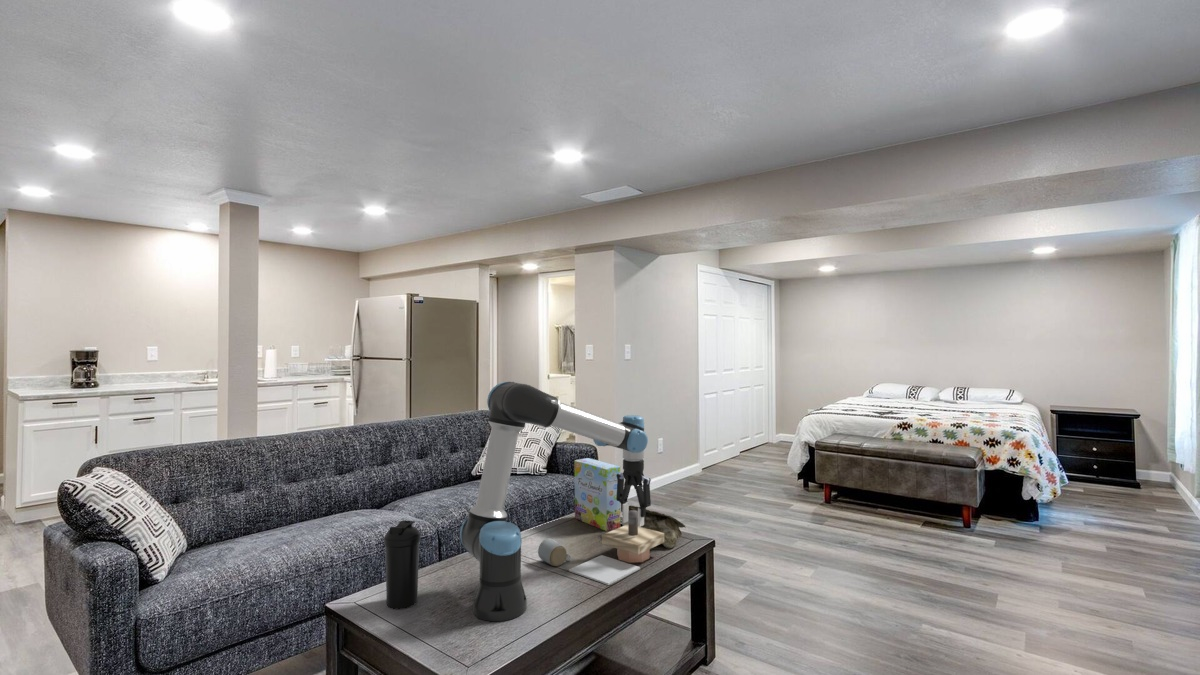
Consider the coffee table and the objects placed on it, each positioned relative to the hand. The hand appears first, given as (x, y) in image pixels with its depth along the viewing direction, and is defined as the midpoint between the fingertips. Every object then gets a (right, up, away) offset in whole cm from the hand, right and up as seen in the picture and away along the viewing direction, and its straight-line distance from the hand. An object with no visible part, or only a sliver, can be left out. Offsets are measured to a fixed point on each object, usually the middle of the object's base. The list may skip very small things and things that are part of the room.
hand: (633, 523), depth 204 cm
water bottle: (-70, -11, -37) cm, 80 cm away
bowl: (0, -12, 0) cm, 12 cm away
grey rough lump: (+8, -12, +18) cm, 23 cm away
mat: (-10, -12, -12) cm, 20 cm away
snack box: (-13, -12, +37) cm, 41 cm away
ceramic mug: (-27, -12, -6) cm, 30 cm away
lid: (0, -7, 0) cm, 7 cm away
